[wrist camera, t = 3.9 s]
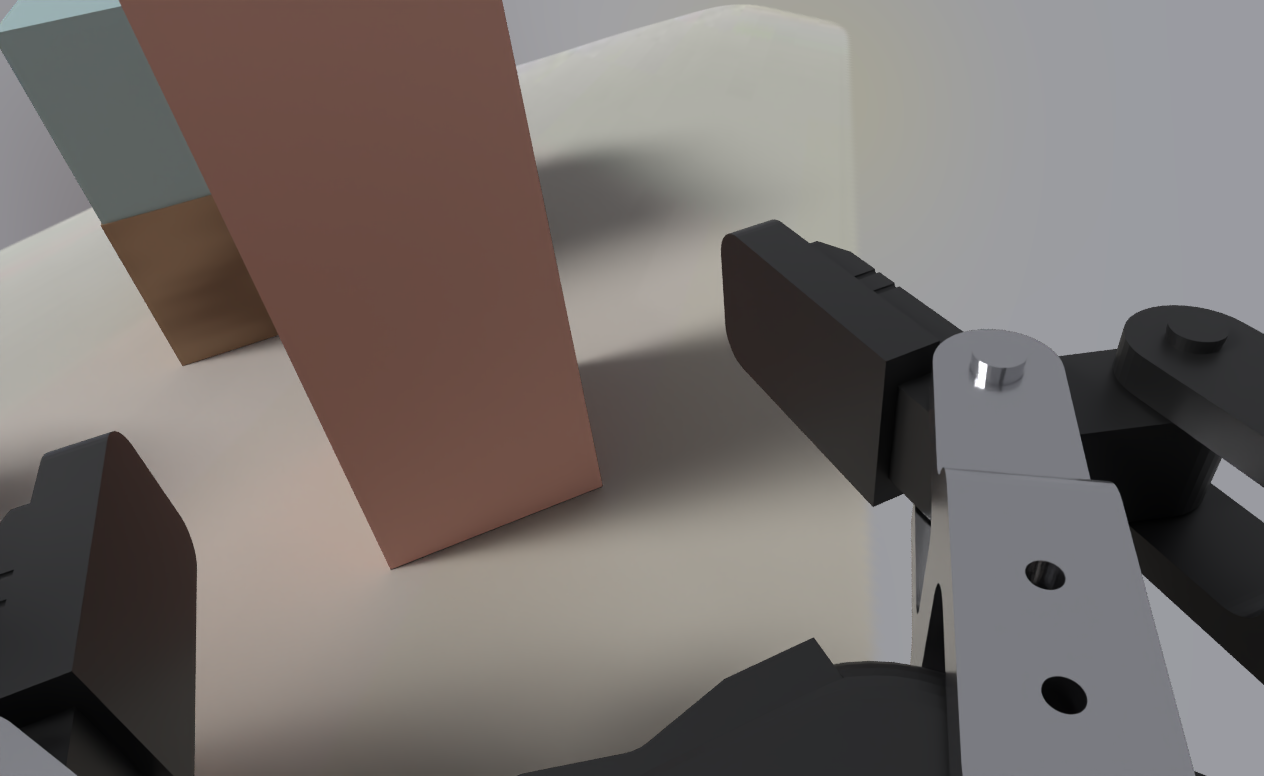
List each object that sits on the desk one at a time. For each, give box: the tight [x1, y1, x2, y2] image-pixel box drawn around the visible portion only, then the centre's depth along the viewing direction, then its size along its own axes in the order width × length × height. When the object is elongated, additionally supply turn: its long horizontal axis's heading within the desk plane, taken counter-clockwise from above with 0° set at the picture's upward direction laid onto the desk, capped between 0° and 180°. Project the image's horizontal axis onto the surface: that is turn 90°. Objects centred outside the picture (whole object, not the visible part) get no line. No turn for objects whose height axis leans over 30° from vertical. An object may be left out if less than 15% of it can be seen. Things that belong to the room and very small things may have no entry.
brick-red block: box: [119, 0, 603, 569], centre depth 17 cm, size 5×5×12 cm
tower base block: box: [101, 195, 278, 366], centre depth 28 cm, size 8×8×5 cm
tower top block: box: [0, 0, 211, 225], centre depth 25 cm, size 8×8×5 cm
